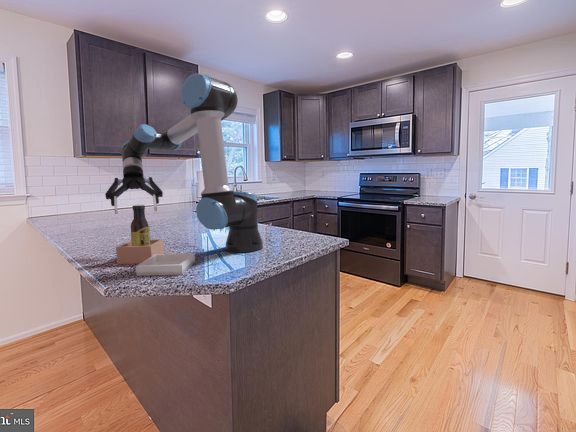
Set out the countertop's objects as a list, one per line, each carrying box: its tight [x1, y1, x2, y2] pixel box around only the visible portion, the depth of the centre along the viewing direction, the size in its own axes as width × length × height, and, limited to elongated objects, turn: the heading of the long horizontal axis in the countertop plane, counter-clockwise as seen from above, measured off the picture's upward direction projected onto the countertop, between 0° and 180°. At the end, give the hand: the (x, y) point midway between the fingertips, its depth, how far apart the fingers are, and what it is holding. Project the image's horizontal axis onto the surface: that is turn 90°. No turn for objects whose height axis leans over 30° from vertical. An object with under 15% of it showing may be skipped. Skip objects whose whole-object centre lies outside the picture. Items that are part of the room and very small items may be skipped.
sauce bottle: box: [130, 204, 151, 246], centre depth 115 cm, size 7×6×20 cm
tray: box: [135, 253, 196, 277], centre depth 103 cm, size 14×14×3 cm
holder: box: [115, 238, 166, 265], centre depth 116 cm, size 12×12×6 cm
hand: (136, 210), depth 120 cm, fingers open, 13 cm apart
